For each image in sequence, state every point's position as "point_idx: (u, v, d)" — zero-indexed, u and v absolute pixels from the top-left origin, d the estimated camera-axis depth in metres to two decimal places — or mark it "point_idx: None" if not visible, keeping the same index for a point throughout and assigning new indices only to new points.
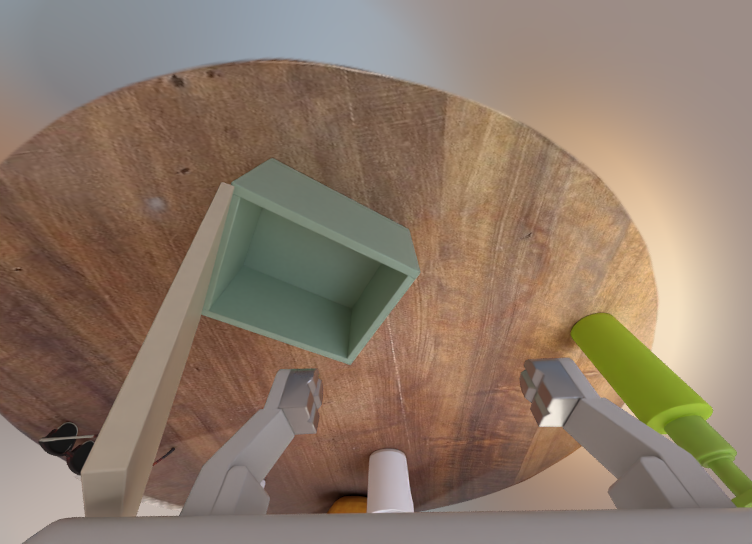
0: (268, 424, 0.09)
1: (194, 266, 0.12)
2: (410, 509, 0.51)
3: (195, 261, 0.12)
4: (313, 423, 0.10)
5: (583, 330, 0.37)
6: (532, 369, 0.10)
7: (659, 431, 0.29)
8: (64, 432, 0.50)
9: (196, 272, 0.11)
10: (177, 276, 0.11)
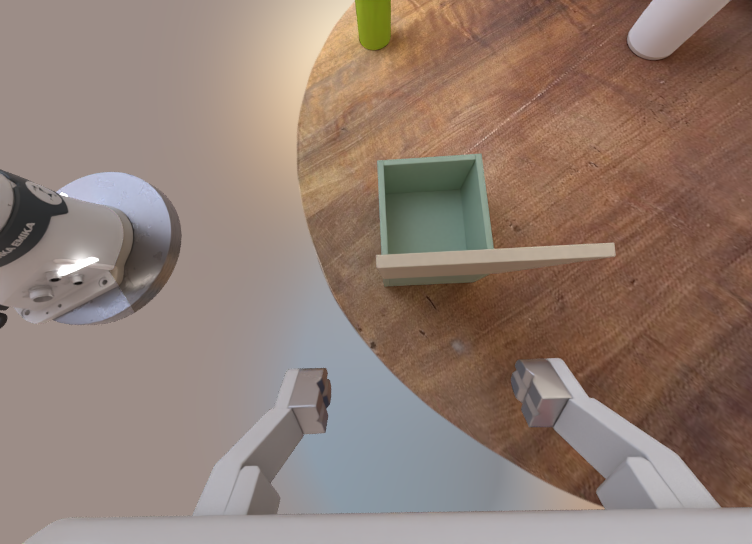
0: (279, 423, 0.09)
1: None
2: None
3: None
4: (322, 423, 0.10)
5: (377, 41, 0.48)
6: (523, 369, 0.10)
7: None
8: None
9: None
10: (380, 273, 0.22)
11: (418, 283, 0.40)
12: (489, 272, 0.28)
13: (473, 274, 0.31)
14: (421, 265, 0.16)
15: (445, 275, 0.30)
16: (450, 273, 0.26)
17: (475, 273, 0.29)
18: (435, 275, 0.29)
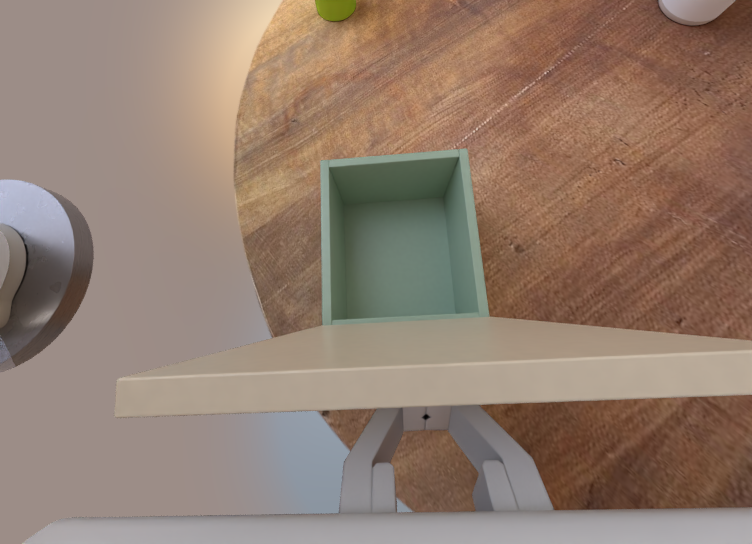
0: (394, 419, 0.08)
1: None
2: None
3: None
4: (425, 419, 0.10)
5: (337, 9, 0.38)
6: None
7: None
8: None
9: None
10: None
11: None
12: None
13: None
14: (241, 410, 0.05)
15: None
16: None
17: None
18: None
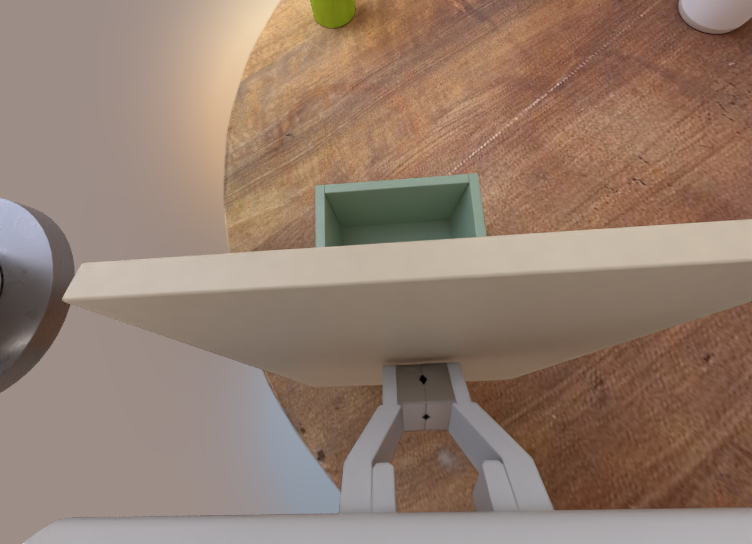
0: (394, 420, 0.08)
1: None
2: None
3: None
4: (425, 420, 0.10)
5: (335, 15, 0.36)
6: (421, 374, 0.10)
7: None
8: None
9: None
10: None
11: None
12: (490, 373, 0.15)
13: (466, 380, 0.18)
14: (208, 291, 0.05)
15: None
16: None
17: (466, 376, 0.16)
18: None
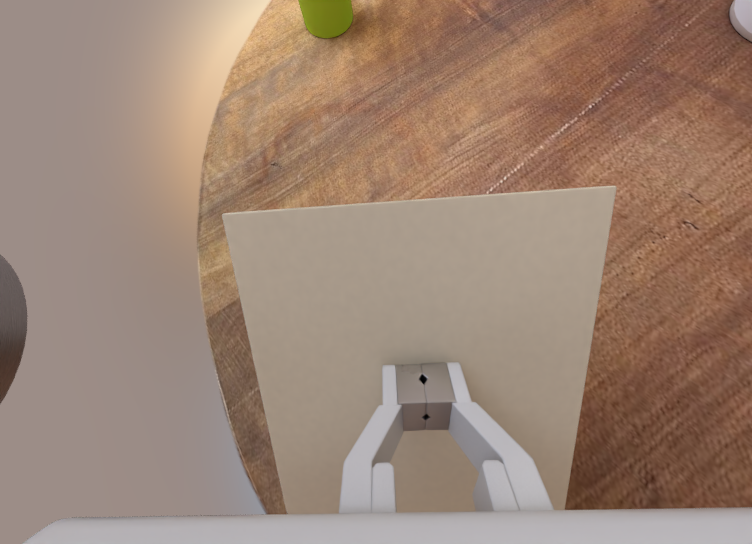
0: (394, 419, 0.08)
1: None
2: None
3: None
4: (425, 420, 0.10)
5: (329, 24, 0.31)
6: (421, 374, 0.10)
7: None
8: None
9: None
10: (256, 372, 0.11)
11: None
12: None
13: None
14: (294, 210, 0.10)
15: None
16: (419, 446, 0.12)
17: None
18: (400, 494, 0.13)
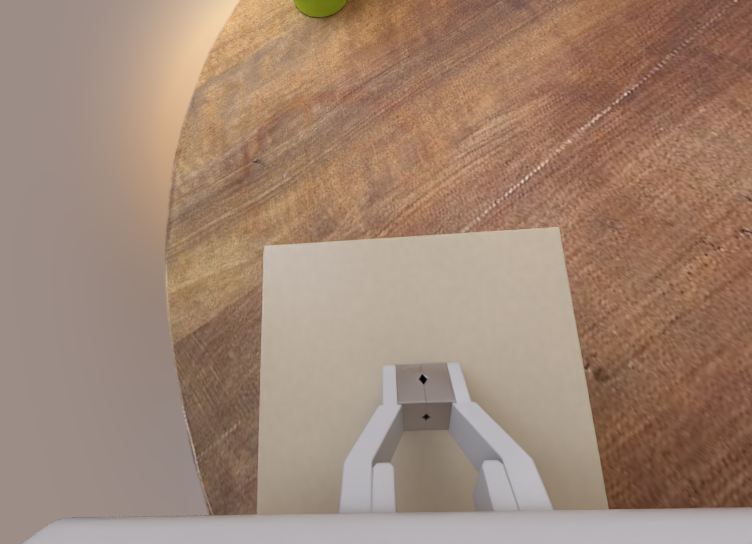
0: (394, 419, 0.08)
1: None
2: None
3: None
4: (425, 420, 0.10)
5: (321, 0, 0.27)
6: (421, 374, 0.10)
7: None
8: None
9: None
10: (260, 394, 0.12)
11: None
12: None
13: None
14: (318, 243, 0.13)
15: None
16: (425, 500, 0.11)
17: None
18: None
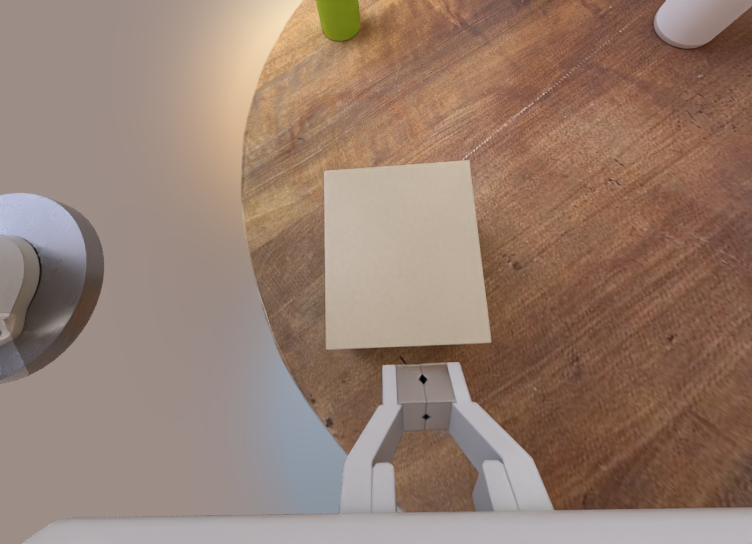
0: (394, 419, 0.08)
1: None
2: None
3: None
4: (425, 419, 0.10)
5: (342, 30, 0.39)
6: (421, 374, 0.10)
7: None
8: None
9: None
10: None
11: None
12: (457, 299, 0.23)
13: (453, 338, 0.22)
14: (351, 169, 0.25)
15: (410, 327, 0.22)
16: (402, 278, 0.23)
17: (443, 309, 0.23)
18: (393, 312, 0.23)
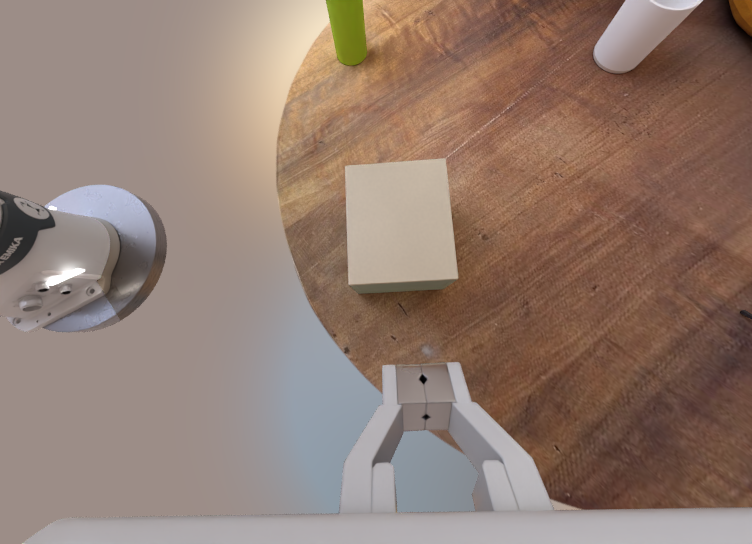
0: (394, 419, 0.08)
1: (347, 218, 0.36)
2: None
3: (347, 220, 0.36)
4: (425, 419, 0.10)
5: (353, 57, 0.50)
6: (421, 374, 0.10)
7: None
8: None
9: (347, 216, 0.36)
10: (346, 211, 0.36)
11: (389, 290, 0.41)
12: (436, 251, 0.34)
13: (433, 276, 0.33)
14: (364, 165, 0.37)
15: (404, 269, 0.34)
16: (399, 238, 0.34)
17: (427, 257, 0.34)
18: (393, 260, 0.34)
